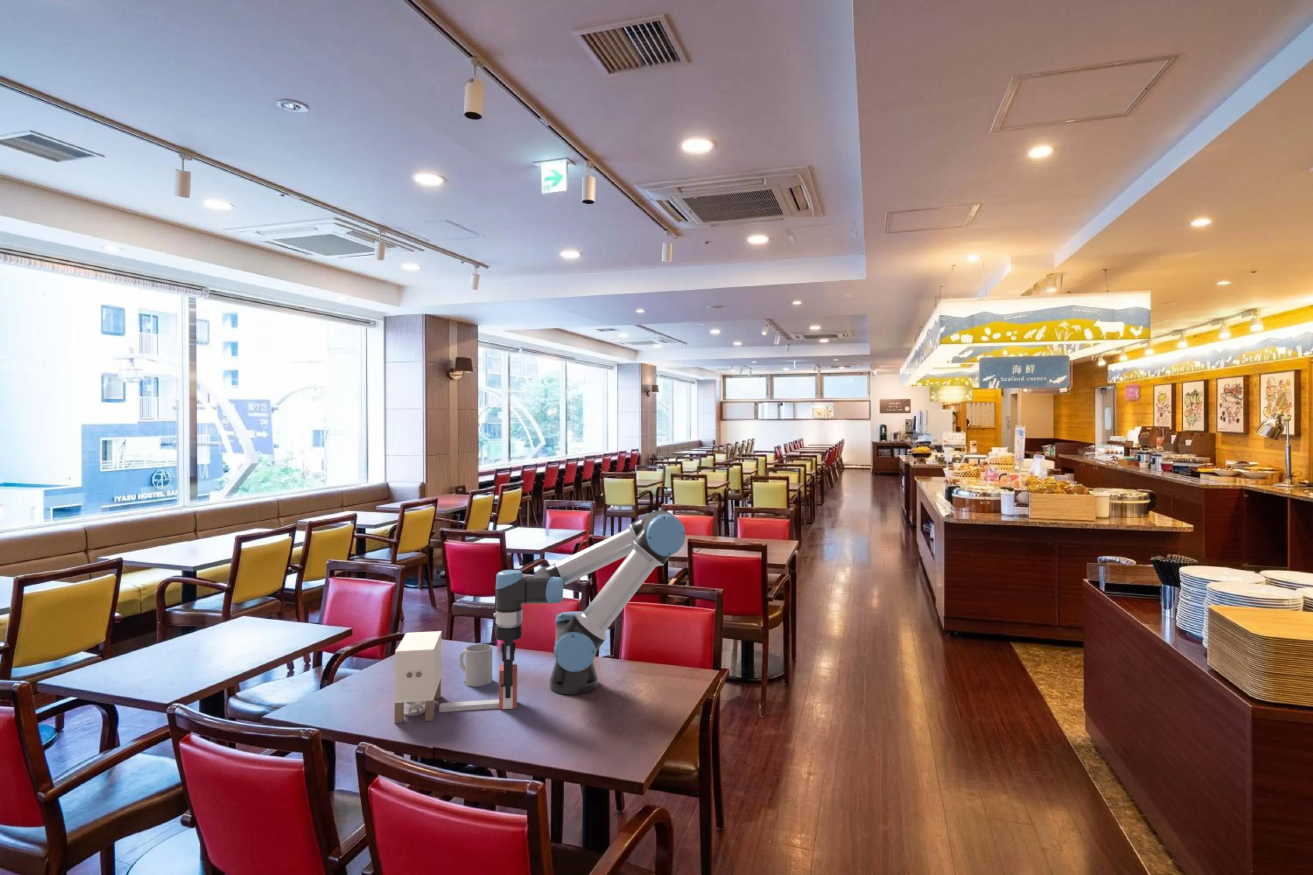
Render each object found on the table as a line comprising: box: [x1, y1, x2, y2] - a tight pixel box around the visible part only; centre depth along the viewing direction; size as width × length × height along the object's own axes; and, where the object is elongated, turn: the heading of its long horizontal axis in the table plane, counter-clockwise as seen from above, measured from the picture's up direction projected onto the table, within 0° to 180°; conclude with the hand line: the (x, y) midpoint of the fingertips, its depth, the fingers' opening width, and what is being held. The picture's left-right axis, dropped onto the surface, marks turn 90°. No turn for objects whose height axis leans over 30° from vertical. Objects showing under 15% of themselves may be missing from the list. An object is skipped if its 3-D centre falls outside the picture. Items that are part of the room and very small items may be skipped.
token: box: [404, 701, 426, 717], centre depth 188 cm, size 6×6×2 cm
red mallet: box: [438, 663, 518, 713], centre depth 192 cm, size 22×5×11 cm, turn 101°
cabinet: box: [394, 630, 442, 724], centre depth 190 cm, size 10×19×20 cm, turn 11°
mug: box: [458, 643, 493, 688], centre depth 213 cm, size 12×8×11 cm
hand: (508, 704), depth 194 cm, fingers closed on red mallet, 5 cm apart
